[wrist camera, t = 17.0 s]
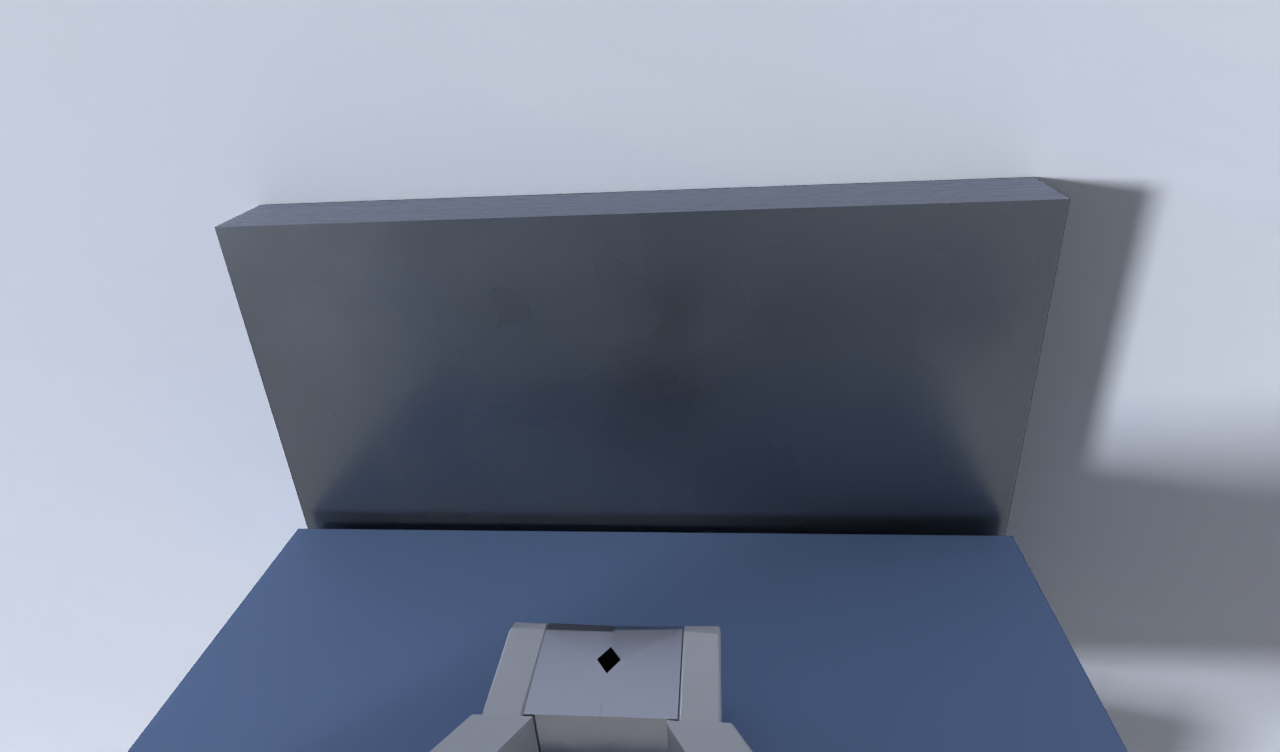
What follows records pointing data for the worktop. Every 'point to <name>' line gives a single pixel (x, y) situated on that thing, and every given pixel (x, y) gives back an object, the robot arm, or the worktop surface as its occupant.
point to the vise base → (655, 356)
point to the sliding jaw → (644, 596)
